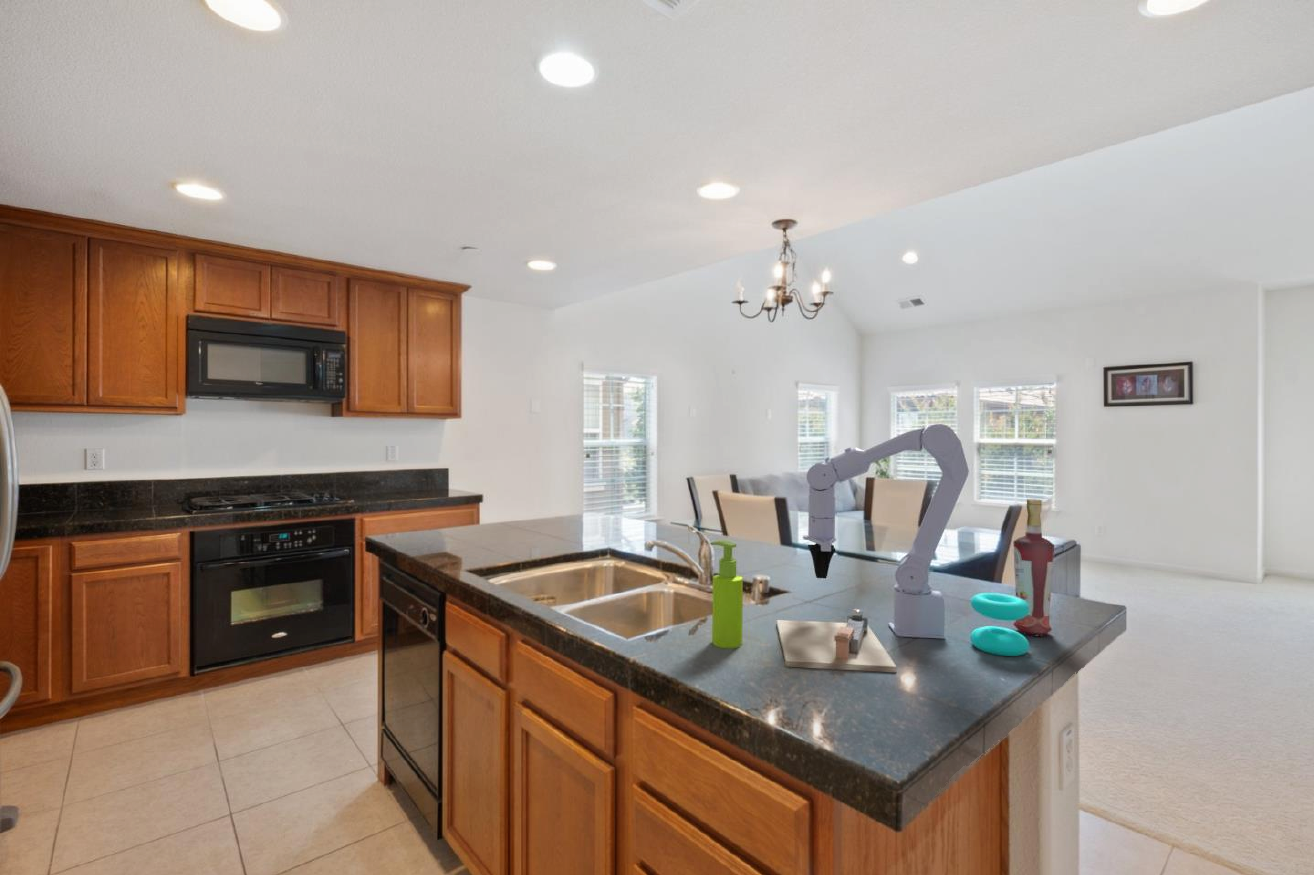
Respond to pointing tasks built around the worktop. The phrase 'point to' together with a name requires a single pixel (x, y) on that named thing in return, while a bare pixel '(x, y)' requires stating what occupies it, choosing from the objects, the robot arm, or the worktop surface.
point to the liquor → (1034, 573)
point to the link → (857, 629)
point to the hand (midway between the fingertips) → (821, 577)
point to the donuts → (999, 637)
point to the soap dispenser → (727, 601)
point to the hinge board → (829, 648)
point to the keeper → (843, 641)
